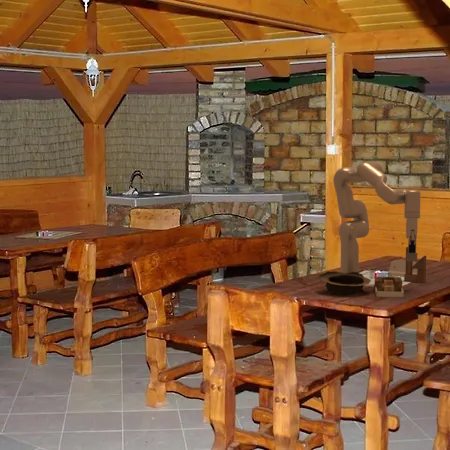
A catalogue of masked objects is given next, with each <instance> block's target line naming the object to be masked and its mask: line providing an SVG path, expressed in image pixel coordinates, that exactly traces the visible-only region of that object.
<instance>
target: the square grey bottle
mask: <svg viewBox="0 0 450 450" xmlns="http://www.w3.org/2000/svg"><path fill="white" fill-rule="evenodd" d="M415 237H416V236H415ZM410 238H411V237H410ZM407 241H408V244H407V247H408V253H407V260H406V259H405V260H406V261H414V262H418V252H417V247H416V248H415V253H409V239H408V240H407ZM415 245H416V246H417V238H416V239H415Z"/></svg>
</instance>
